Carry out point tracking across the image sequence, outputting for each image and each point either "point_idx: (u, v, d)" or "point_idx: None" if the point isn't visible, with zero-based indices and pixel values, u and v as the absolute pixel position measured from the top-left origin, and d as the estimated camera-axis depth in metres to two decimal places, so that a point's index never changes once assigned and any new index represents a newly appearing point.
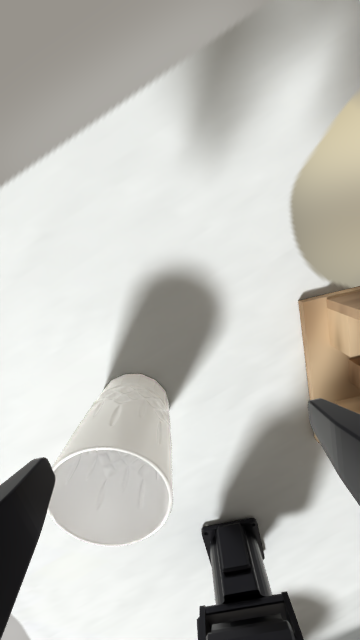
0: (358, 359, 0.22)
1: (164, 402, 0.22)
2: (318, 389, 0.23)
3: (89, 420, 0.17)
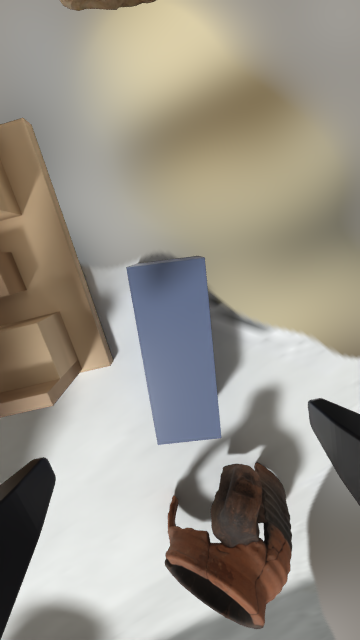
0: None
1: None
2: None
3: None
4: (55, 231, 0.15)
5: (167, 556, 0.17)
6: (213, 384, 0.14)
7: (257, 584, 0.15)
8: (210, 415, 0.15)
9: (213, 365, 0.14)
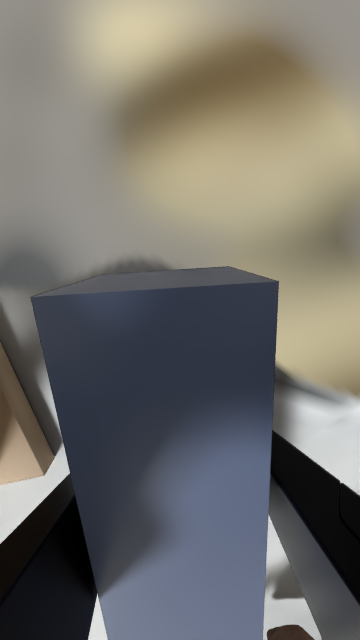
0: None
1: None
2: None
3: None
4: None
5: None
6: (258, 585, 0.06)
7: None
8: None
9: (263, 549, 0.06)
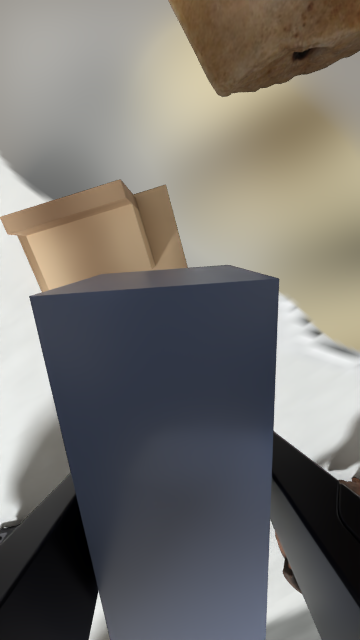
0: None
1: None
2: None
3: None
4: None
5: None
6: (261, 585, 0.06)
7: None
8: (245, 639, 0.06)
9: (266, 548, 0.06)
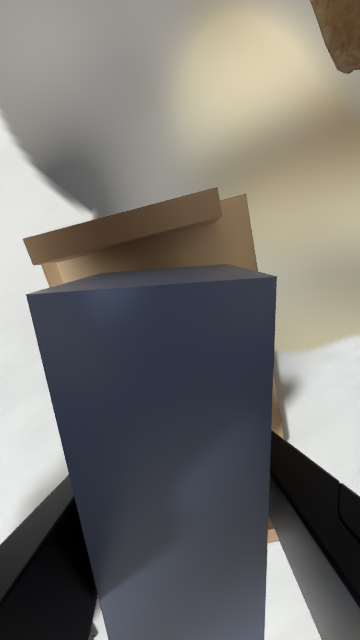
0: None
1: None
2: None
3: None
4: None
5: None
6: (259, 584, 0.06)
7: None
8: (243, 639, 0.06)
9: (264, 547, 0.06)
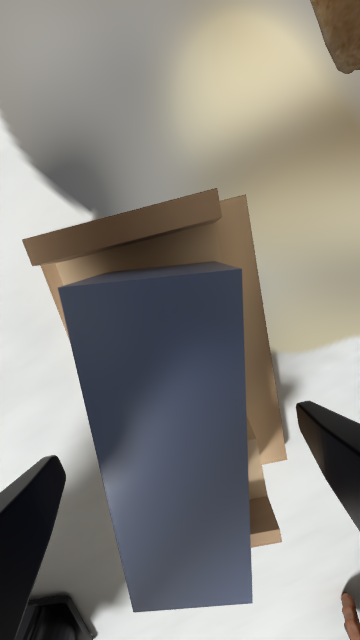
0: None
1: None
2: None
3: None
4: (256, 319, 0.13)
5: None
6: (244, 519, 0.07)
7: None
8: (234, 569, 0.08)
9: (246, 486, 0.07)
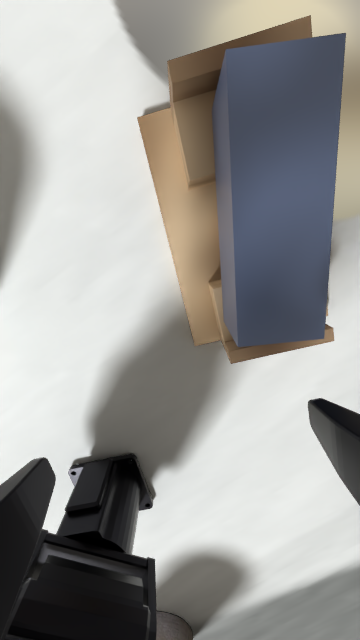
0: None
1: None
2: (181, 262, 0.17)
3: None
4: None
5: None
6: (326, 255, 0.10)
7: None
8: (314, 304, 0.11)
9: (330, 224, 0.10)
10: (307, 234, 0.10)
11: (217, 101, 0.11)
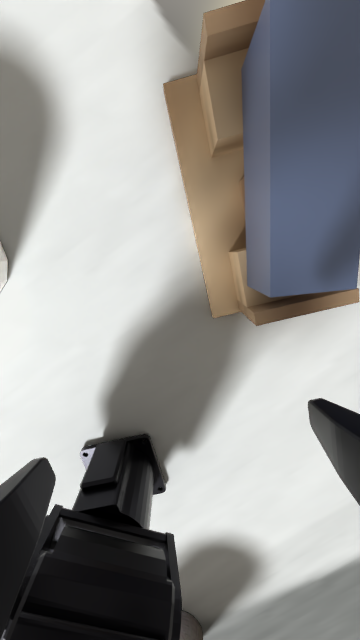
0: None
1: None
2: (202, 231, 0.17)
3: None
4: None
5: None
6: None
7: None
8: (348, 252, 0.11)
9: None
10: (343, 178, 0.10)
11: (252, 52, 0.11)
